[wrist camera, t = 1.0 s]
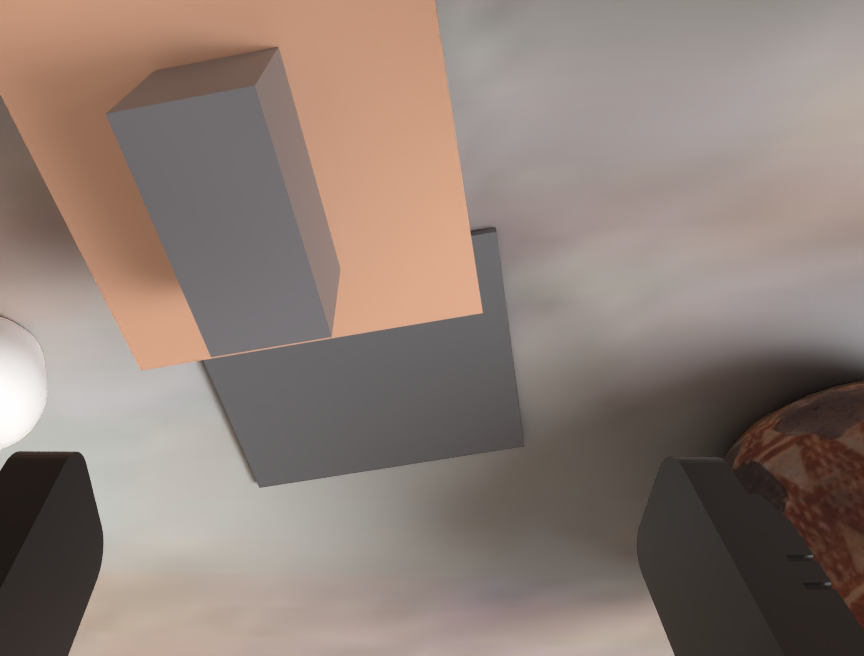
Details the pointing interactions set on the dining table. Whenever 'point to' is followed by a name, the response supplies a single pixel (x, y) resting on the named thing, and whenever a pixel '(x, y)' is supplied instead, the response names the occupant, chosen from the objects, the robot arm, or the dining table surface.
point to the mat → (379, 392)
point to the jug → (814, 478)
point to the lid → (247, 165)
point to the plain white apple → (20, 382)
